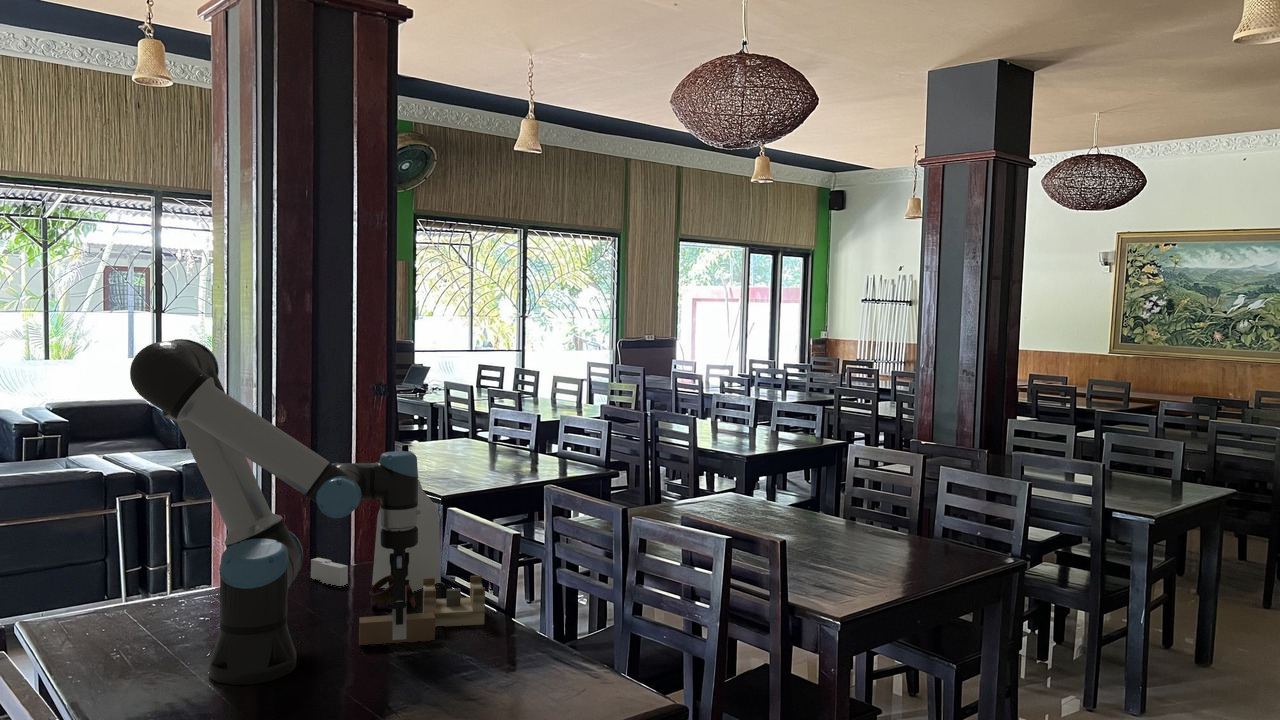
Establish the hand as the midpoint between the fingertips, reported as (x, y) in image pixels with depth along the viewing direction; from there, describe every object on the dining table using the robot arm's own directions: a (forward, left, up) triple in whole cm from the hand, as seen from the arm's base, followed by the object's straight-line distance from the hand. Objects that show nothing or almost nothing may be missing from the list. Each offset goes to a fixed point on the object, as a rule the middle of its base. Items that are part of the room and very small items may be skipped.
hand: (399, 627), depth 189 cm
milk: (+38, -1, -3) cm, 38 cm away
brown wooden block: (-1, 0, -3) cm, 3 cm away
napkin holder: (+44, +17, -3) cm, 47 cm away
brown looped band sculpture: (+22, +1, -3) cm, 23 cm away
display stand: (+11, -11, -2) cm, 16 cm away
